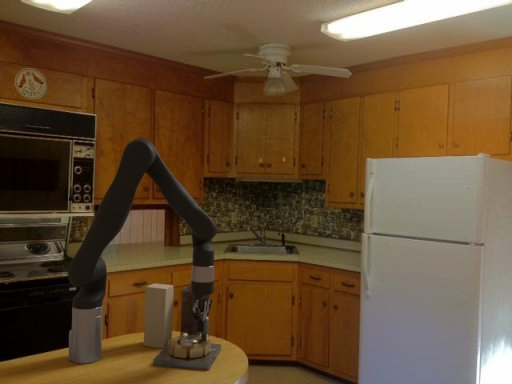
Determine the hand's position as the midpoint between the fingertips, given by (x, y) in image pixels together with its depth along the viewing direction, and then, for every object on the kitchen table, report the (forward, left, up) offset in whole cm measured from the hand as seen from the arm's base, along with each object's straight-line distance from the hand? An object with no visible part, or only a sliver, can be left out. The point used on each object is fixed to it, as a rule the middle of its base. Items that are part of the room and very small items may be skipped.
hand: (201, 331), depth 153 cm
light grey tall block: (-18, +12, -10) cm, 24 cm away
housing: (-4, +2, -10) cm, 11 cm away
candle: (-8, +18, -10) cm, 22 cm away
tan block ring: (-4, +2, -7) cm, 9 cm away
